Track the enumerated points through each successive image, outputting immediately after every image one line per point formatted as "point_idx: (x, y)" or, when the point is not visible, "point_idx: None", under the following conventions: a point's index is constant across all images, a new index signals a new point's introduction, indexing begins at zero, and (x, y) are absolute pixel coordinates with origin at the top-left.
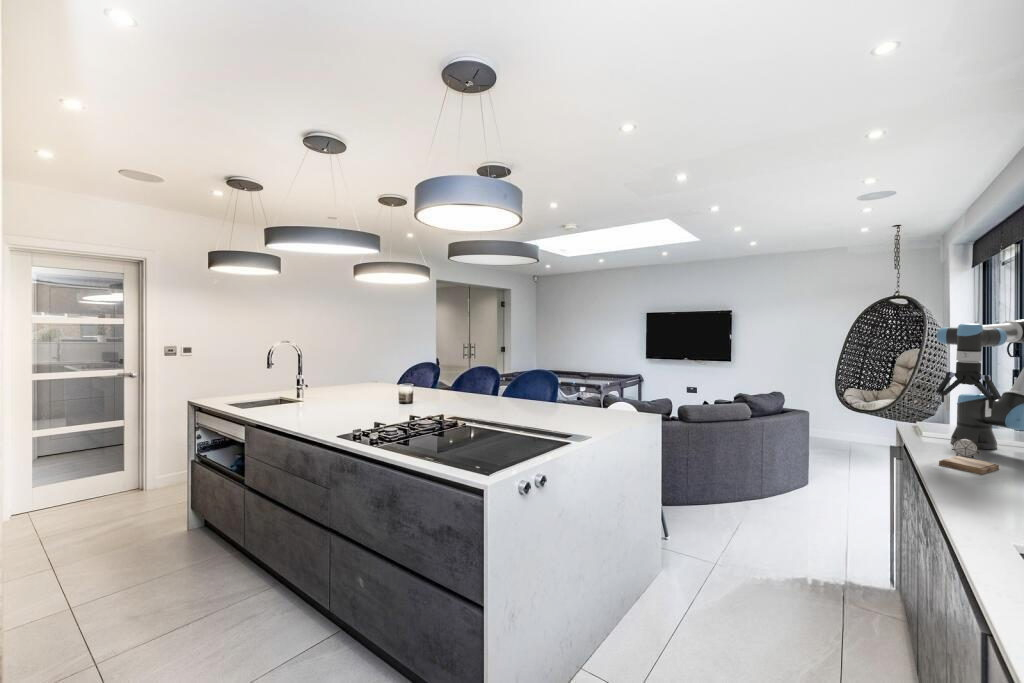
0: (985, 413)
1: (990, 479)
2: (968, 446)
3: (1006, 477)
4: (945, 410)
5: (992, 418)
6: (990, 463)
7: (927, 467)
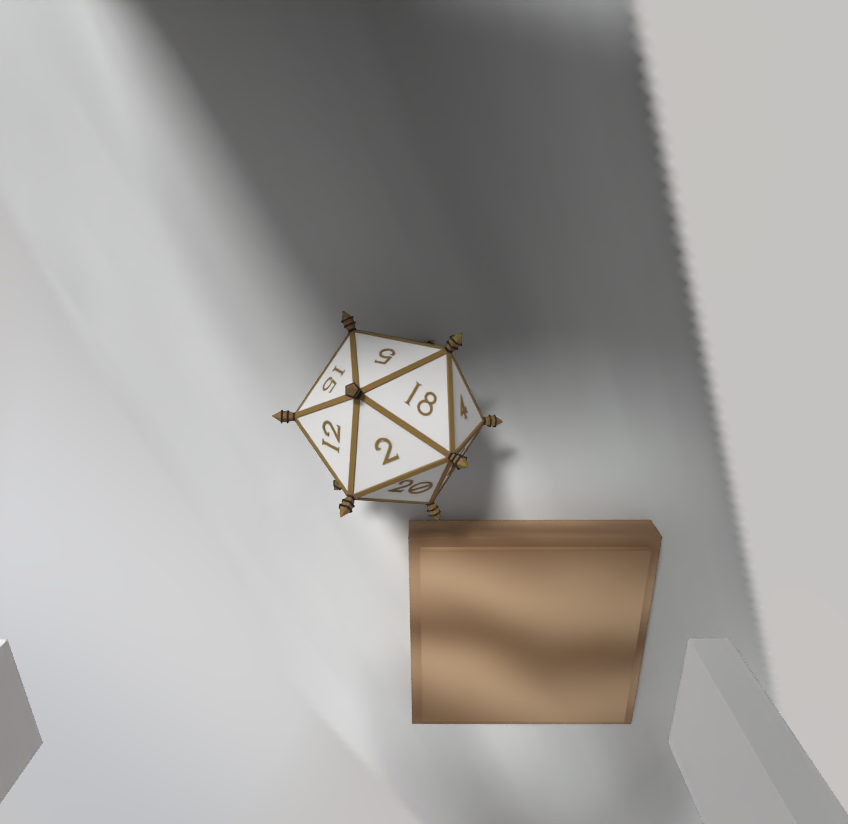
0: (698, 803)
1: None
2: (440, 487)
3: None
4: (30, 749)
5: None
6: (625, 571)
7: (411, 785)
